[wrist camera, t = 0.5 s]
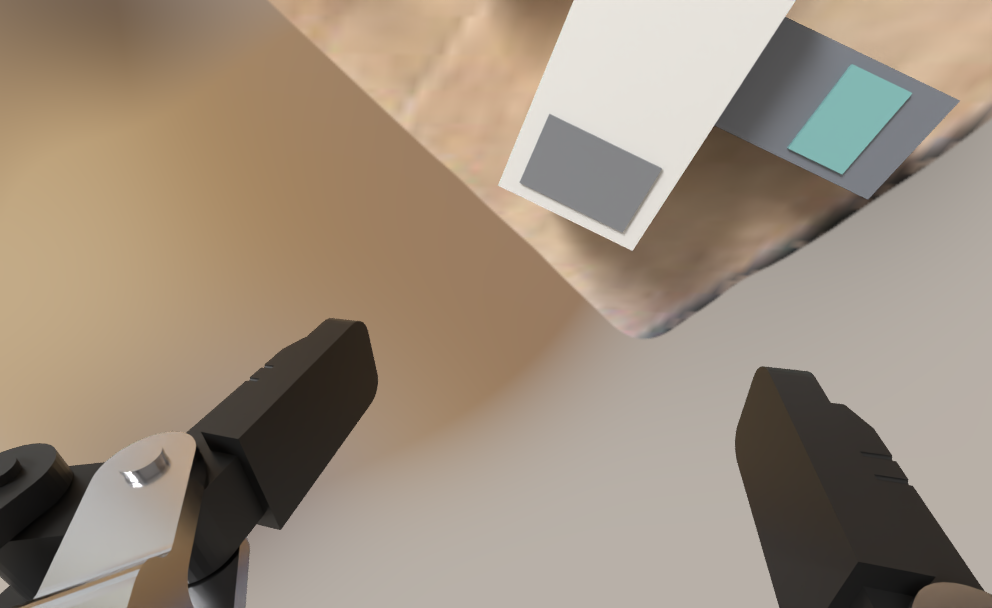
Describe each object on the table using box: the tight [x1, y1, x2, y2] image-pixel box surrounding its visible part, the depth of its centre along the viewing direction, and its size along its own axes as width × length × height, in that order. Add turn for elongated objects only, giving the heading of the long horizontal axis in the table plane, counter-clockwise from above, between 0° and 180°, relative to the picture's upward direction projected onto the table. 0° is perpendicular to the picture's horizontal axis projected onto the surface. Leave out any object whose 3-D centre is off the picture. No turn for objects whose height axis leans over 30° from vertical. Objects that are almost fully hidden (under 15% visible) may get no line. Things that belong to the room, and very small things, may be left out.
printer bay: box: [498, 0, 796, 251], centre depth 23 cm, size 14×8×9 cm, turn 157°
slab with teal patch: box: [714, 17, 959, 199], centre depth 23 cm, size 5×13×6 cm, turn 68°
